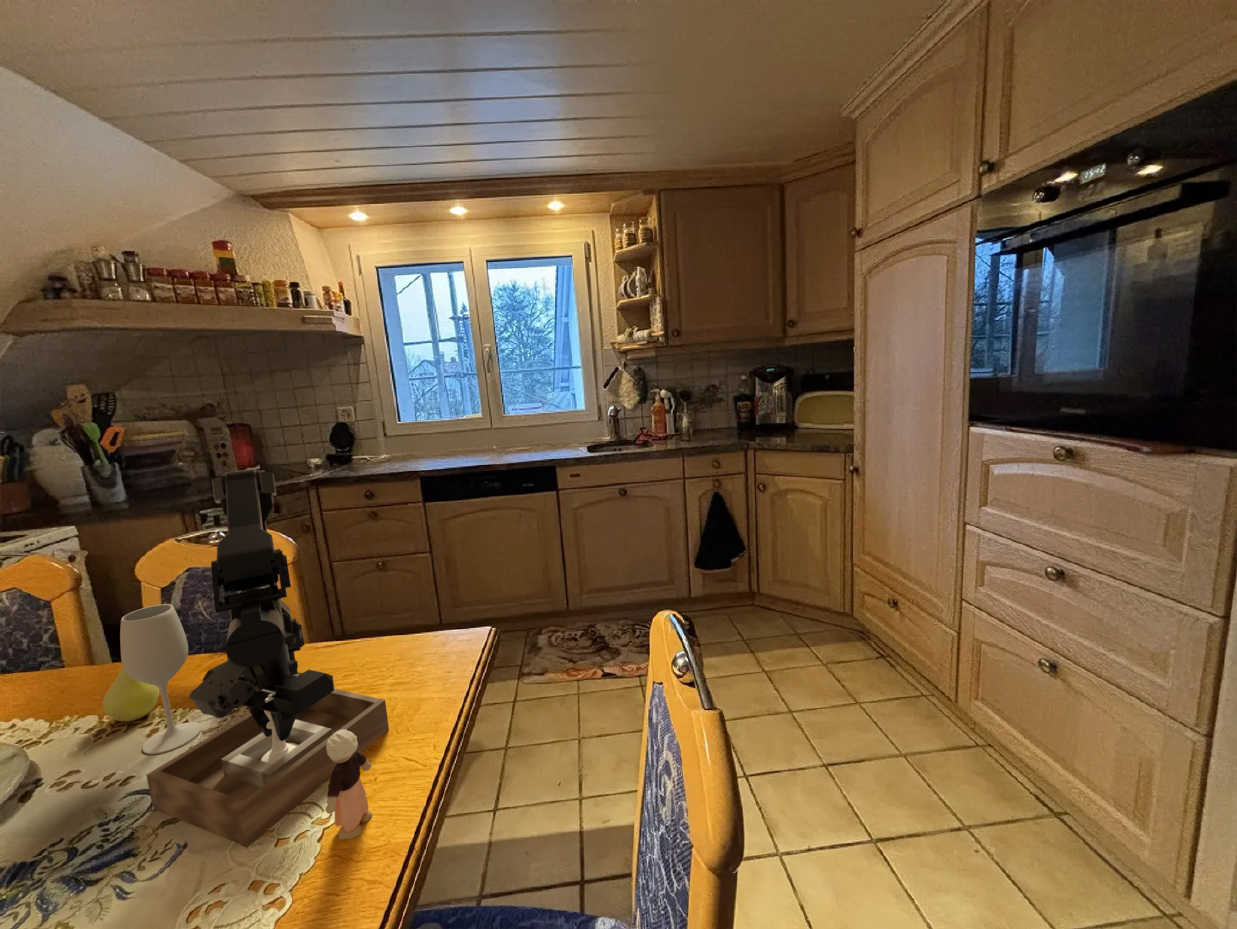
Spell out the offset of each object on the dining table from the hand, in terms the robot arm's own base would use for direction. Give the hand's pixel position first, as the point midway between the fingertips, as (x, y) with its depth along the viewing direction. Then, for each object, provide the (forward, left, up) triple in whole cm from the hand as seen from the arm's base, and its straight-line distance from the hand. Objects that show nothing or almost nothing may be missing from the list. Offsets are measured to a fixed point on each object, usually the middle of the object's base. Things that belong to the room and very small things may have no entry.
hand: (277, 737), depth 74 cm
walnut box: (0, 0, -4) cm, 5 cm away
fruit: (-36, +1, -5) cm, 36 cm away
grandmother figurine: (+19, -5, -5) cm, 20 cm away
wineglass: (-23, -1, -5) cm, 23 cm away
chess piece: (0, 0, -4) cm, 4 cm away
